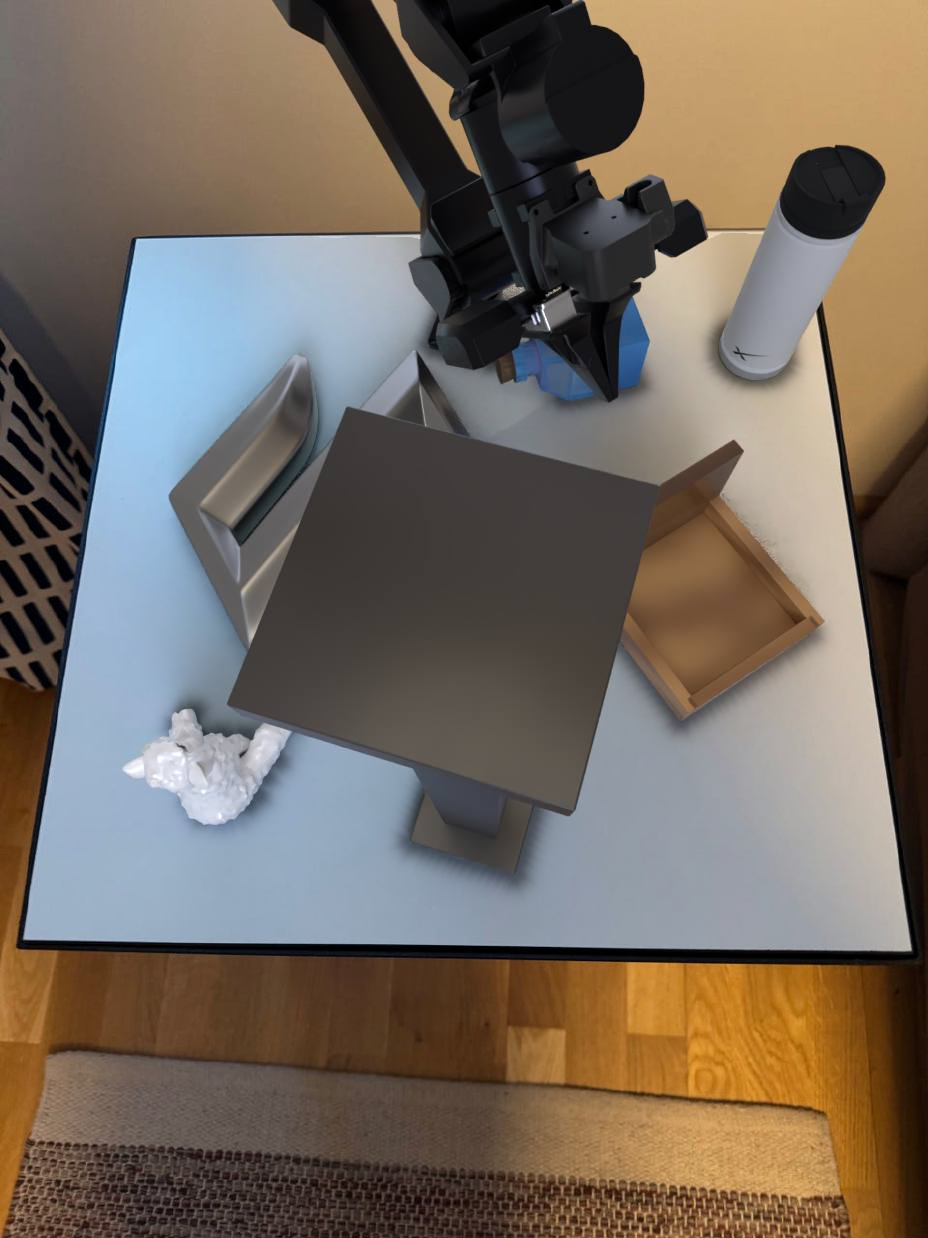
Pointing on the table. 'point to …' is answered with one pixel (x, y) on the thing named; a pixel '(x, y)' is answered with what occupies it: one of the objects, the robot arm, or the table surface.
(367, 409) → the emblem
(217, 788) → the white creature statuette
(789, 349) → the travel mug
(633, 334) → the perfume bottle
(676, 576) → the oak drawer
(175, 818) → the table surface
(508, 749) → the plant stand
